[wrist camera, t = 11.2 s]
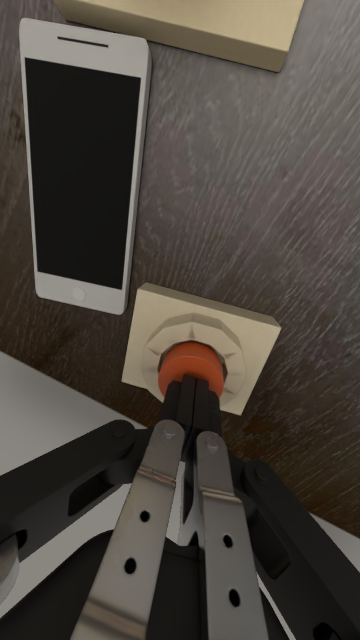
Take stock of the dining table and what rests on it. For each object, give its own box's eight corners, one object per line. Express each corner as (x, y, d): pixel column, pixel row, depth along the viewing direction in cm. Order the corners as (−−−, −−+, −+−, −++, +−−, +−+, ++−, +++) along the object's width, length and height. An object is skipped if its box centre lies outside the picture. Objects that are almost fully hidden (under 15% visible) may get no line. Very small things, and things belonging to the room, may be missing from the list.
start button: (158, 383, 16) (152, 400, 14) (170, 334, 14) (165, 348, 13) (212, 398, 16) (212, 417, 14) (230, 351, 14) (233, 366, 12)
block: (130, 366, 20) (112, 397, 16) (145, 281, 17) (128, 295, 13) (237, 397, 20) (244, 434, 16) (273, 316, 17) (291, 340, 13)
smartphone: (43, 293, 18) (34, 296, 17) (29, 30, 12) (16, 14, 11) (126, 312, 18) (122, 316, 17) (153, 51, 12) (149, 37, 11)
